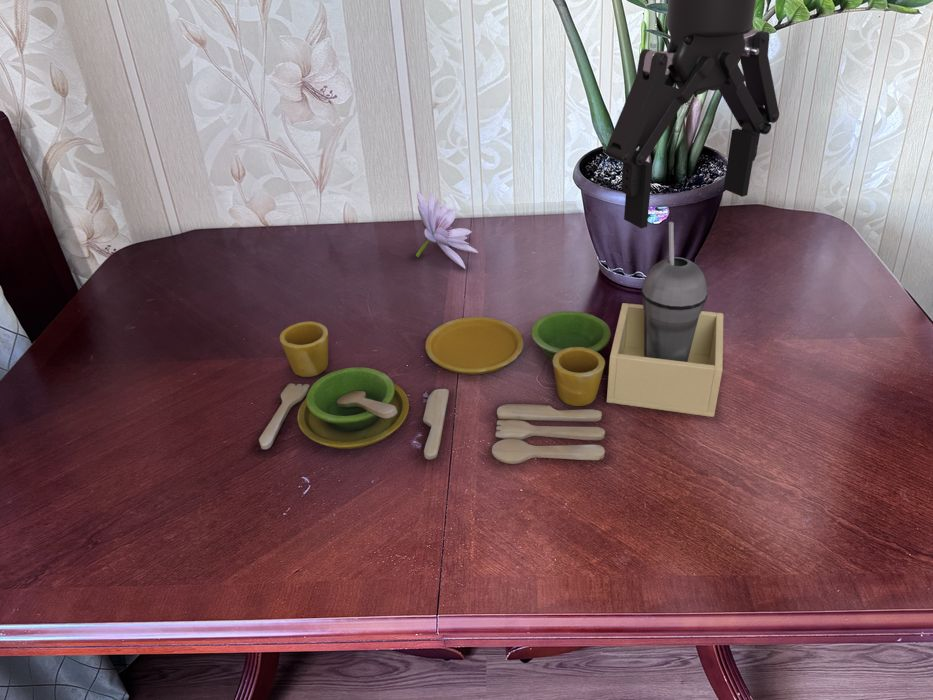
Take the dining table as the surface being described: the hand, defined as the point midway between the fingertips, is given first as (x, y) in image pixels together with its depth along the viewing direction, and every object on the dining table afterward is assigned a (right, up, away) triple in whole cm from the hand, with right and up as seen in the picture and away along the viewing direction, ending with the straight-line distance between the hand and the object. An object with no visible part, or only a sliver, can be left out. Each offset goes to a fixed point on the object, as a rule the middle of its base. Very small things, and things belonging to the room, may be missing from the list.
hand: (686, 207), depth 77 cm
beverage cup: (+1, -18, +12) cm, 22 cm away
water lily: (-26, 0, +43) cm, 50 cm away
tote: (+1, -18, +13) cm, 22 cm away
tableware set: (-26, -19, +14) cm, 35 cm away
